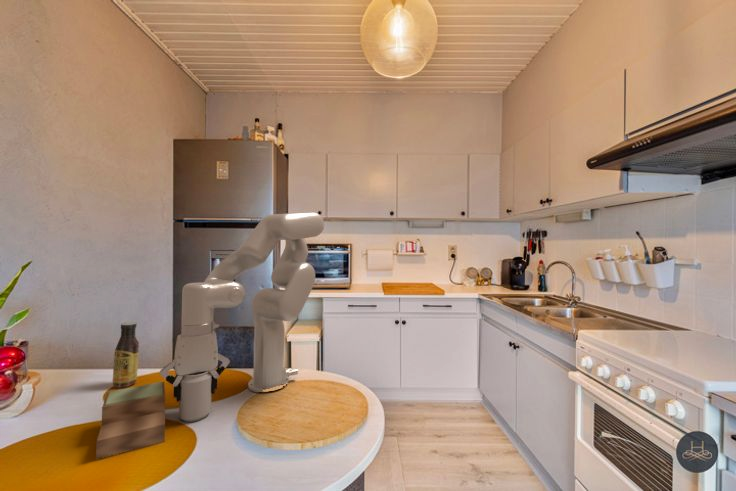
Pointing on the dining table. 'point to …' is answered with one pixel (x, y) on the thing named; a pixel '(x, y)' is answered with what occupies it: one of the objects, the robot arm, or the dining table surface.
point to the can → (195, 396)
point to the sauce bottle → (126, 357)
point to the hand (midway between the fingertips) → (195, 395)
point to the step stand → (132, 419)
